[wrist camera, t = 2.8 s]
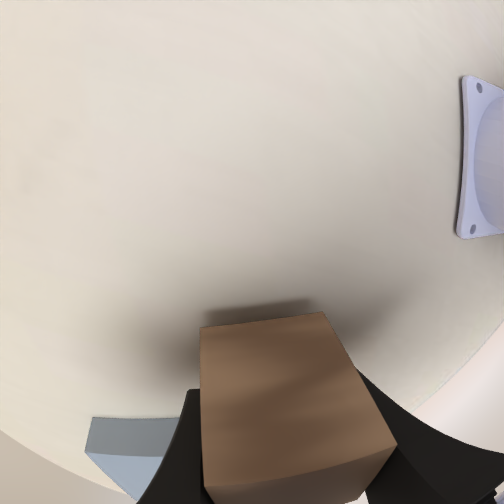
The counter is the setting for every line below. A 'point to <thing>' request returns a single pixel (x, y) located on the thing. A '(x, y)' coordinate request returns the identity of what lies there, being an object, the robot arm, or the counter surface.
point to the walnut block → (286, 415)
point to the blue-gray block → (130, 449)
